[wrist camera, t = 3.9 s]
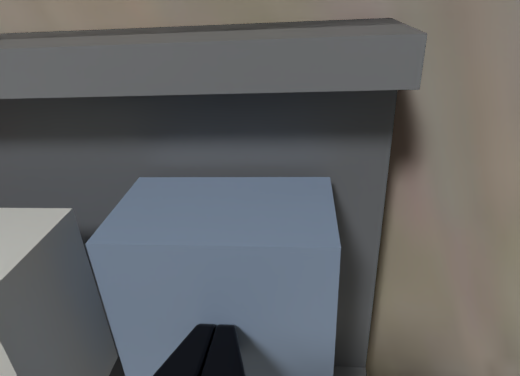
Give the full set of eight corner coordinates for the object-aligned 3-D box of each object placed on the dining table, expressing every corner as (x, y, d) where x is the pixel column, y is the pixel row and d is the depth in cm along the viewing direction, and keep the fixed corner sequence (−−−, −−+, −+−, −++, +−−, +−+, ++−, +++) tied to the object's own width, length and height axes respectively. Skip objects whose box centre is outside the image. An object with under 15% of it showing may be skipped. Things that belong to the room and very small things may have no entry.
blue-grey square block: (167, 316, 13) (133, 403, 10) (139, 177, 11) (85, 243, 8) (324, 321, 12) (330, 414, 10) (330, 176, 10) (341, 247, 7)
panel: (-106, 332, 17) (-184, 400, 15) (-294, 45, 12) (-480, 66, 9) (357, 351, 15) (370, 435, 13) (390, 18, 10) (427, 33, 7)
